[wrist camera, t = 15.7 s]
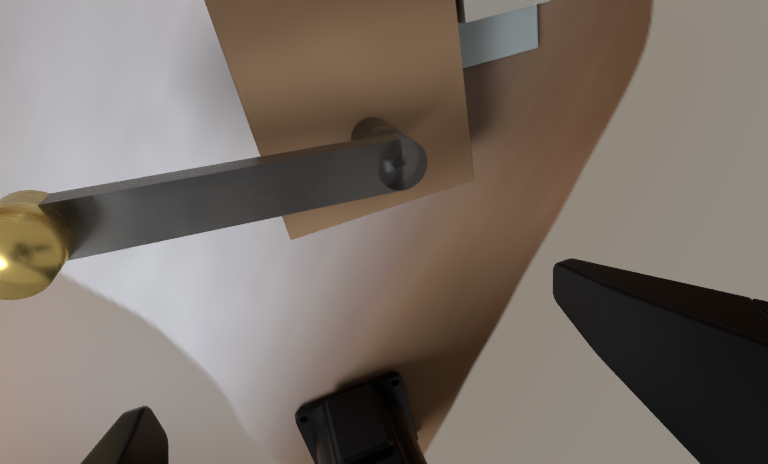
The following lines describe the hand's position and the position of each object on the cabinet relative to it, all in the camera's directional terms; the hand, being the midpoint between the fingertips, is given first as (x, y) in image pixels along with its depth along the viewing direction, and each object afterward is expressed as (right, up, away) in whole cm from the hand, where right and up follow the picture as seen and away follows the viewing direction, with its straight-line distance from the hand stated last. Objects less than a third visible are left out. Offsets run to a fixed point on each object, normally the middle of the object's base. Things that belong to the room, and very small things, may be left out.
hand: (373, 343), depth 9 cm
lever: (-5, +5, +6) cm, 9 cm away
